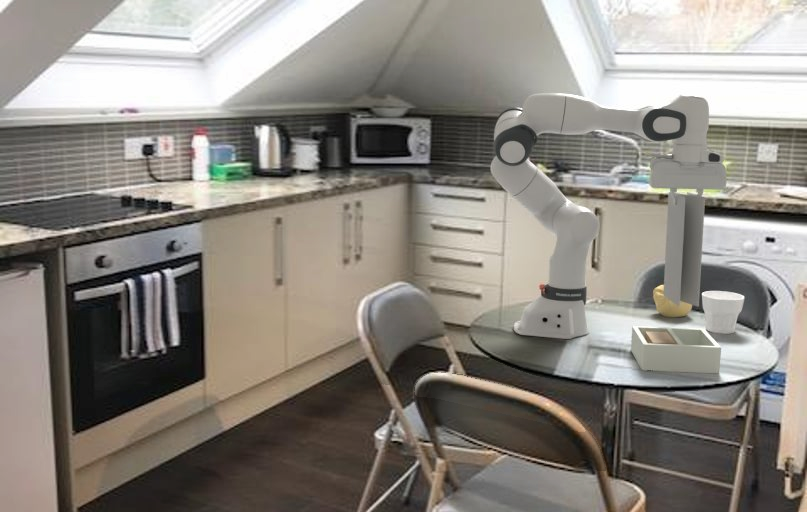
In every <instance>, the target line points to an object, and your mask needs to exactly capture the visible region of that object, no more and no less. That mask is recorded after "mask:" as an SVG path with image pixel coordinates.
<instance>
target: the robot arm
mask: <svg viewBox="0 0 807 512" xmlns="http://www.w3.org/2000/svg"><path fill="white" fill-rule="evenodd" d="M495 121H496V122H495V127H494V132H493V140H494V141H493V151H494V154H495V156H494V157H493V160H492V161H491V163H490V172H491V175H492V176H493V178H494V179H495V180H496V182H498V184H499V185H500V186H501V187H502V188H503V189H504V190H505V192H506V193H508V194H509V195H510V196H511V197H512V198H513V199H514V200H516V202H518V203H519V204H520V205H521V206H523V208H525V209H526V210H527V211H528V212H529V213H530V214H531V215H532V216H533V217H534V218H535V220H537V222H539V224H540V225H542V227H543V228H544V229H545V230H547V231H548V232H549V233H550V234H551V235H552V236H554V237H556V242H555V247H554V250H553V254H552V255H551V256H550V258H549V261H548V262H549V264H548V282H547V284H545V283H543V282H541V283H540V284H539V286H538V287H539V290H540V295H541V296H539V297H538V298H536V299H535V300H533V301H532V302H530V303H529V304H527V305H526V306H525V307H524V309H523V311H522V314H521V319H520V320H518V321H516V322H515V323H514V324H513V331H514V333H516V334H519V335H520V336H530V337H531V336H532V337H542V338H543V337H544V338H552V339H562V340H563V339H565V340H566V339H567V340H570V339H573V338H577V337H582V336H586V335H588V333H589V328H588V323H587V315H586V314H587V313H586V304H587V300H588V287H587V285H586V284H587V282H586V280H587V264H588V259H589V254H590V251H591V248H592V244H593V243H594V242H593V241H594V240H595V239H596V238H597V237H598V235H599V232H600V230H601V229H600V228H601V224H600V220H599V218H598V216H597V215H596V214H595V213H594V212H593V211H592V210H591V209H589V208H588V207H586V206H582V205H579V204H577V203H574V202H572V201H571V200H569V198H567V197H566V196H565V195H564V194H563V192H562V191H561V190H560V188H558V186H557V184H556V183H555V182H554V181H553V180H552V179H551V178H549V176H547V175H546V173H544V172H543V171H542V170H541V169H539V167H537V165H535V164H534V163H533V162H531V161H530V160H529V158H530V156H531V154H532V152H533V150H534V148H535V146H536V144H537V142H538V140H539V138H538V136H539V135H541V134H545V133H548V134H549V133H550V134H555V135H556V134H557V135H558V134H559V135H566V136H568V135H569V136H572V135H573V136H577V135H586V134H588V133H589V134H590V133H591V132H594V131H600V130H606V131H607V130H608V131H617V132H625V133H631V134H634V135H636V136H638V137H639V138H641V139H642V140H645V141H648V142H654V143H663V142H664V143H665V142H666V141H672V143H673V144H672V154H661V153H660V154H656V155H653V156H652V157H651V158H650V159H649V168H650V173H649V179H648V184H649V186H650V188H653V189H669V192H670V193H671V195H672V197H673V198H674V200H673V205H676V204H677V197H676V195H675V193H678V192H677V191H678V190H679V189H681V190H682V189H683V190H684V189H685V190H696V191H695V192H696V193H697V194H696V195H699V196H702V197H703V194H704V190H715V191H716V190H717V191H719V190H721V191H722V190H723V191H724V189H725V188H726V187H727V169H726V166H725V165H724V164H723V162H724V161H725V156H724V154H721V153H718V152H715V151H714V150H711V149H708V140H707V133H708V130H709V128H710V127H709V126H710V107H709V103H708V101H707V99H705V98H704V97H702V96H698V95H694V94H688V93H684V94H680V95H678V96H677V97H676V98H675V99H672V100H669V101H668V102H666V103H664V104H661V105H655V104H654V105H648V106H644V107H641V108H638V109H627V108H616V107H608V106H604V105H601V104H599V103H597V102H595V101H593V100H592V99H591V98H587V97H584V96H580V95H576V94H571V93H562V92H561V93H559V92H543V93H542V92H539V93H533V94H531V95H529V96H527V98H526V99H525V101H524V103H523V105H522V107H520V106H510V107H507V108H505V109H504V110H503V111H501V112H500V114H499V115H498V117H497V118H496V120H495Z"/></svg>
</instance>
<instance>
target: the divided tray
mask: <svg viewBox="0 0 807 512" xmlns="http://www.w3.org/2000/svg"><path fill="white" fill-rule="evenodd" d="M631 327H632V328H631V340H630V343H631V344H630V351H631V353H632V355H633V356H634V358H635V360H636V362H637V364H638V366H639V368H640V367H641V368H640V369H641V371H647V370H651V371H650V372H653V371H654V372H670V373H671V372H673V373H675V372H676V373H677V372H678V373H695V374H698V373H700V374H720V370H721V369H720V368H721V356H722V355H721V353H722V347H721V346H720V344H719V343H718V342H717V341H716V340H715V339H714V337H712V335H710V333H709V331H708V330H706V328H694V327H691V328H690V327H665V326H643V325H641V326H638V325H632V326H631ZM645 331H646V332H668V333H669V335H670V336H671V337H672V339H673V340H674V341H675V342H676V344H651V343H647V342H646V340H645ZM652 370H653V371H652Z"/></svg>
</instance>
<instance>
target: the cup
mask: <svg viewBox="0 0 807 512" xmlns="http://www.w3.org/2000/svg"><path fill="white" fill-rule="evenodd" d="M701 298H702V299H701V300H702V302H701V303H702V309H703V311H704V318H705V330H706V331H707V332H710V333H715V334H723V335H726V334H727V335H728V334H730V335H731V334H734V333H735V331H736V324H737V320H738V318H739V314H740V313H741V312H742V310H743V306H744V302H745V295H742V294H740V293H736V292H731V291H725V290H724V291H721V290H709V291H708V290H707V291H704V292H702V293H701Z"/></svg>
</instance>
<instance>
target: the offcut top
mask: <svg viewBox="0 0 807 512" xmlns="http://www.w3.org/2000/svg"><path fill="white" fill-rule="evenodd" d="M645 340H646V342H647V343H651V344H676V342H675V341H674V340H673V339H672V337H671V336H670V335H669V333H668V332H646V331H645Z"/></svg>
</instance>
